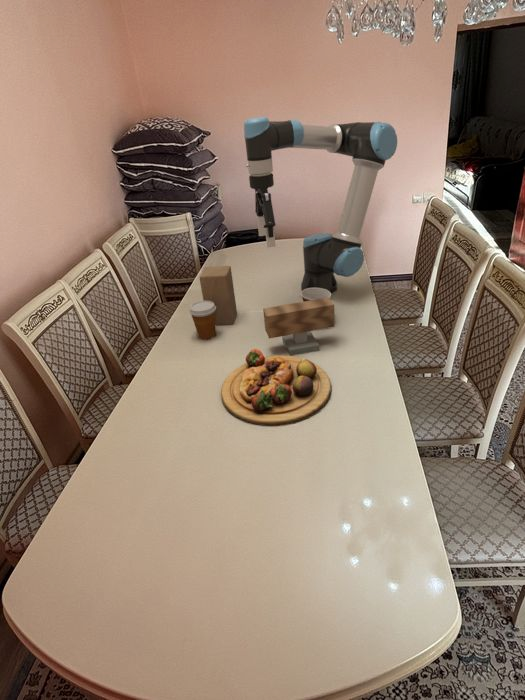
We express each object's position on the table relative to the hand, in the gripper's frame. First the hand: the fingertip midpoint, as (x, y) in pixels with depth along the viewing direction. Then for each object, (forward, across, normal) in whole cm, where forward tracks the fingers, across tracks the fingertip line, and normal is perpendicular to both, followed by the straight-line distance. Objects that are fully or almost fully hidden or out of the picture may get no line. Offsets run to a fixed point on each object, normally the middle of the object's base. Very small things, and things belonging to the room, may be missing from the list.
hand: (266, 240), depth 151 cm
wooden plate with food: (+32, +40, -9) cm, 52 cm away
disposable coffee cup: (+32, -1, -25) cm, 41 cm away
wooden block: (+32, -12, -18) cm, 39 cm away
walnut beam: (+25, +18, +5) cm, 31 cm away
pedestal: (+32, +18, +5) cm, 37 cm away
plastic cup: (+32, +4, +15) cm, 35 cm away
